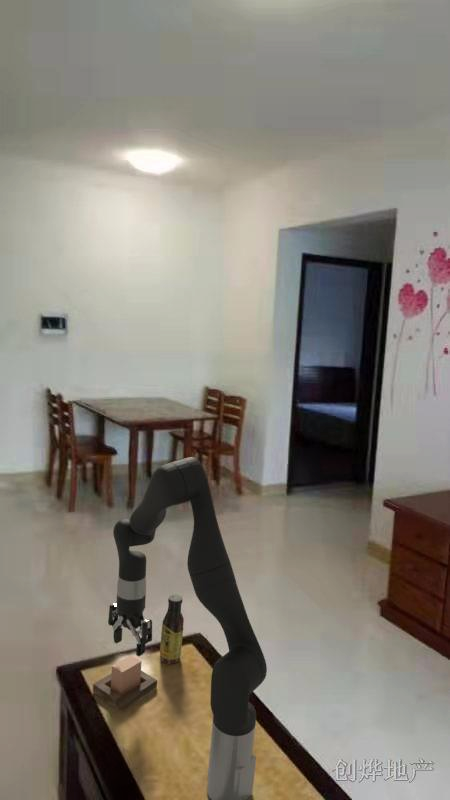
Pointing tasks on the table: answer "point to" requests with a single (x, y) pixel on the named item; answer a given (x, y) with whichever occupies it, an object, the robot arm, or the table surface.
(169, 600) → the sauce bottle
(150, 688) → the cradle
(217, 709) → the robot arm
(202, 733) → the table surface
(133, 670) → the key block
